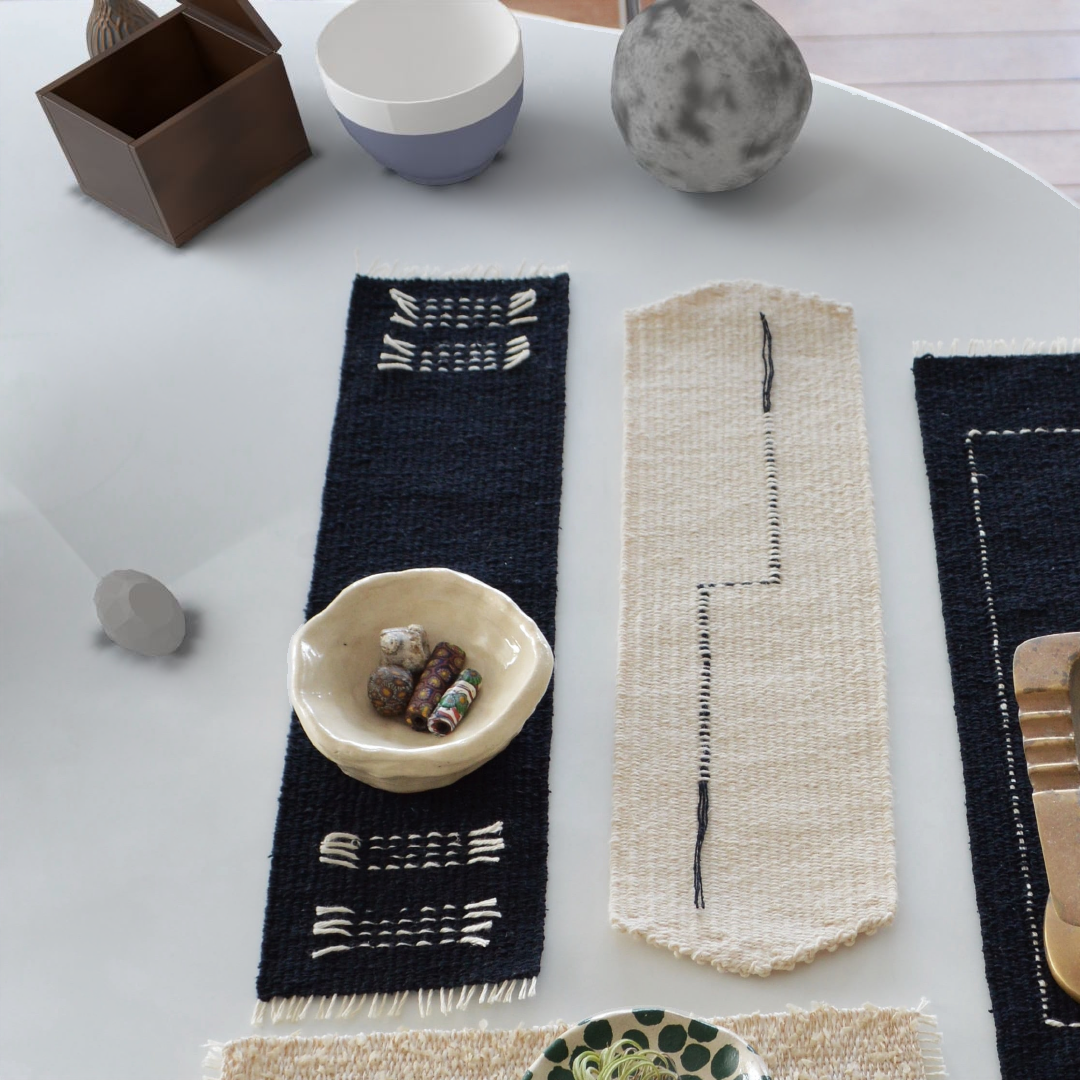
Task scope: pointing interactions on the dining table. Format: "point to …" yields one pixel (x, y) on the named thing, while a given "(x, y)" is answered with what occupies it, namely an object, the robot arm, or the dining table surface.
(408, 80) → the bowl
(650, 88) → the stone
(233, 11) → the lid
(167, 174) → the chest
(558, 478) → the dining table surface
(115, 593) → the grey rounded piece
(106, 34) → the vase
